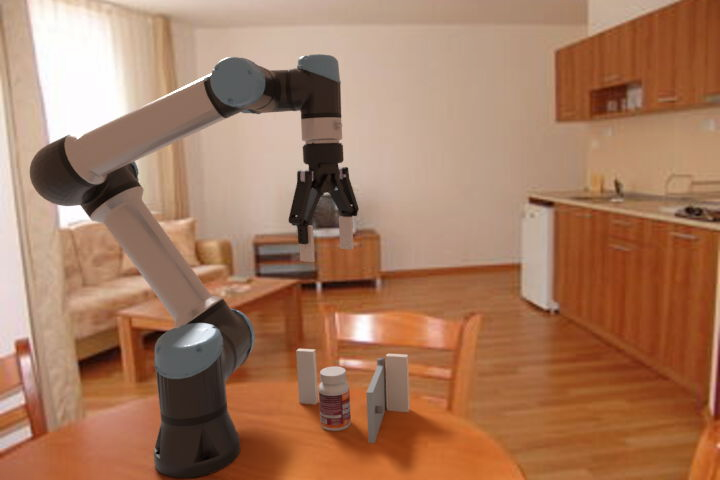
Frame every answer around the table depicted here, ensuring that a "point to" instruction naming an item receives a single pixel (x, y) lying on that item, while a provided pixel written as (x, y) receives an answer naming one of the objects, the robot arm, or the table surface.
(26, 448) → the table surface
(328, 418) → the pill bottle
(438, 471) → the table surface
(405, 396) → the wall frame
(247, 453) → the table surface
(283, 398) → the table surface
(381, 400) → the door
